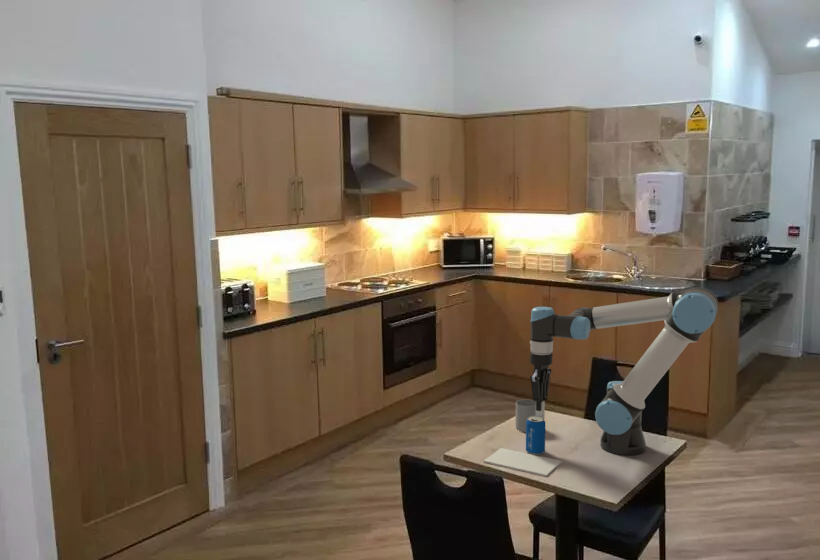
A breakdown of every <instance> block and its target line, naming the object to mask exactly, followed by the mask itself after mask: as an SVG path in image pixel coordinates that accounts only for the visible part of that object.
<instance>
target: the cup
mask: <svg viewBox="0 0 820 560" xmlns="http://www.w3.org/2000/svg"><path fill="white" fill-rule="evenodd" d="M535 413H536V401H533V399H528V398H526V399H519V400H516V401H515V422H514V423H515V426H514V427H516V428H515V430H516V429H517V430H516V431H518V430H519V431H518V432H520V431H521V433H526V421H527V418H528V417H530V416H535Z"/></svg>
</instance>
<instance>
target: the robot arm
mask: <svg viewBox="0 0 820 560" xmlns="http://www.w3.org/2000/svg"><path fill="white" fill-rule="evenodd" d="M718 312H719V301H718V298H717V296H716V294H714V293H713V292H712V291H711V290H709V289H708V288H704V287H692V288H688V289H684V290H681V291H674V292H671V293H670V294H669V295H668V296H662V297H661V296H660V297H655V298H649V299H641V300H635V301H629V302H621V303H614V304H607V305H602V306H595V307H581V308H576V309H575V310H574V311H573V312H571V313H570V314H569V315H566V314H565V315H563V314H557V313H555V311H554V308H552V307H550V306H549V307H548V306H535V307H533V308H532V309H531V314H530V315H531V316H530V320H529V321H530V341H529V345H530V348H529V349H530V353H529V363H530V364H531V365H533V369H532V370H533V371H532V373H533V374H532V375H530V376H529V379H530V384H531V394H532V396H531V397H532V400H533V401H536V413H535V416H540V417H543V418H544V419H545V408H546V401H548V399H549V398H548V397H549V396H548V395H549V388H550V379H551V373H552V368H549V366H551V365H552V364H553V351H554V348H553V347H554V337H555V338H564V339H572V340H587V339H588V338H589V336H590V333H591V331H592V330H598V329H606V328H607V329H608V328H613V327H614V328H615V327H622V326H630V325H638V324H644V323H645V324H646V323H653V322H661V321H664V327H663V328H662V330H661V331H660V332H659V334H658V335H657V337H655V339H654V340H653V342H652V343H651V344H650V345H649V347H648V348H647V349H646V351H645V352H644V353H643V355H641V357H640V359H639V360H638V361H637V362H636V363H635V365H634V366H633V368H632V369H631V370H630V372H629V373H628V374H627V376H626V377H625V378H624V379H623V380H613V381H609V382H608V383H607V386H606V395H605V396H604V398H603V399H602V400H601V402H600V403H598V405H596V409H595V412H594V416H595V421H596V423H597V425H598V427H599V428H600V429H601V430H602V434H601V436H600V441H599V442H600V447H601V448H602V450H604V451H606V452H609V453H612V454H616V455H623V456H635V455H640V454H642V453H645V451H646V450H647V449H646V448H647V442H646V439H645V436H644V433H643V429H642V413H643V410H645V408H646V403H645V402H646V401H645V399H646V398H647V397H648V396H649V395H650V393H651V392H653V390H654V389H655V387H656V385H657V384H658V383H659V382H660V381H661V379H662V378H663V377H664V376H665V375H666V373H667V372H668V371H669V370H670V368H671V367H672V366H673V364H675V362H676V361H677V359H678V358H679V357H680V355H682V353H683V352H684V350H685V349H686V348H687V346H688V345H689V344H690V343H691V344H692V343H697V342H698V341H699V339H700V338H701V337H702V336H703V335H704V333H705V332H706V331H707V330H708V329H710V327H711V326H712V325H713V324H714V322H715V320H716V316H717V314H718Z"/></svg>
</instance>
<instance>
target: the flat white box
mask: <svg viewBox="0 0 820 560" xmlns="http://www.w3.org/2000/svg"><path fill="white" fill-rule="evenodd" d="M483 463H485V464H489V465H494V466H498V467H502V468H508V469H511V470H516V471H521V472H525V473H528V474H533V475H538V476H541V475H542V477H548V476H549V475H550V474H552V472H553V471H554V470H556V469H557V468H558V467H560V465H561V464H562V463H563V461H562V460H559V459H554V458H550V457H544V456H540V455H532V454H529V453H528V452H527V453H526V452H521V451H516V450H512V449H507V448H503V447H500V448H498V449H497V450H496V451H495V452H493V453H492V454H491V455H490V456H488V457H486V458H485V459H484V460H483Z"/></svg>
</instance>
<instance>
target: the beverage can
mask: <svg viewBox="0 0 820 560" xmlns="http://www.w3.org/2000/svg"><path fill="white" fill-rule="evenodd" d="M525 451H526V452H527V454H531V455H536V456H540V455H543V454H544V452H546V420H545V417H544V418H543V417H540V416H530V417H528V418H527V421H526V432H525Z"/></svg>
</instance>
